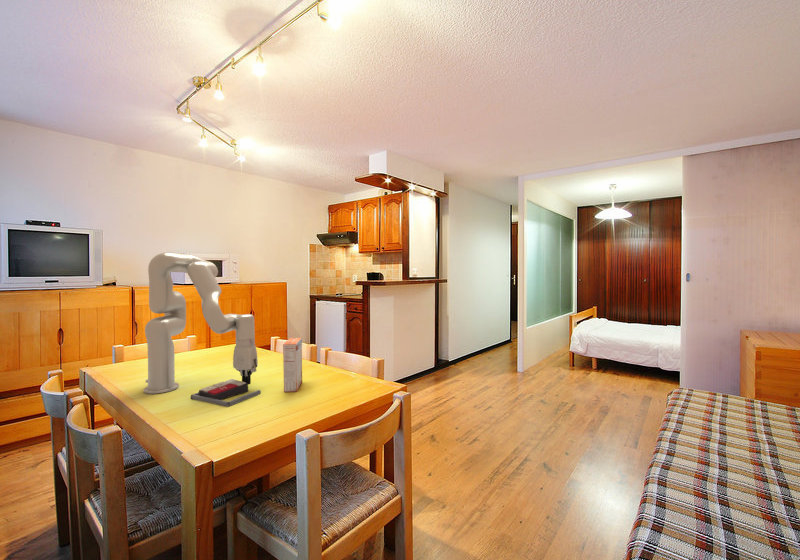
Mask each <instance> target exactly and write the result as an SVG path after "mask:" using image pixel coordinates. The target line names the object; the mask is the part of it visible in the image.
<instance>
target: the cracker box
mask: <svg viewBox="0 0 800 560" xmlns="http://www.w3.org/2000/svg"><path fill="white" fill-rule="evenodd" d="M302 341H303V339H302V337H290V338H288V339H287V340H286V341H285V342H284V343H283V344H282V350H283V354H282V355H283V357H282V358H283V367H282V368H283V392H284V393H294V392H298V390H299V389H300V387H301V384H302V383H303V342H302Z"/></svg>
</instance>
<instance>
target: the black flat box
mask: <svg viewBox="0 0 800 560" xmlns="http://www.w3.org/2000/svg"><path fill="white" fill-rule="evenodd" d="M248 391H249V385H248V383H246V382H242V380H237V379H235V378H231V379H227V380H225V381H221V382H218V383H214V384H212V385H209V386H206V387H203V388H200V390H198V392H199V396H204V397H208V398H213V399H218V400H223V401H224V400H225V399H227V398H232V397H233V396H237V395H238V394H239V395H242V394H244V393H248Z"/></svg>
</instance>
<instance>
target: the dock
mask: <svg viewBox="0 0 800 560" xmlns="http://www.w3.org/2000/svg"><path fill="white" fill-rule="evenodd" d="M261 392H262V391H261V389H257V390H255V391H252V392H250V393H248V394H245V395H242V396H239V397H237V398H235V399H232V400H229V401H226V400H224V399H223V400H218V399H213V398H208V397H204V396H199V391H198V392H195V393H193V394H191V395H190V399H191V400H194V401H200V402H202V403H203V402H204V403H207V404H208V403H209V404H213V405H217V406H223V407H226V408H228V407H232V406H234V405H236V404H238V403H241V402H244V401H246V400H248V399H251V398H254V397H256V396H258V394H259V395H260V394H261ZM253 396H254V397H253Z"/></svg>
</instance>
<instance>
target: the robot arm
mask: <svg viewBox="0 0 800 560" xmlns="http://www.w3.org/2000/svg"><path fill="white" fill-rule="evenodd" d="M147 273H148V307H149V309H150V311H151V312H152V313H154V314H157V315H158V314H159V315H161V314H164V315H163V316H158V317H154V318H151V319H150V320H149V321H148V322H147V323H146V324H145V327H144V333H145V339H146V345H147V379H146V380H145V384H147V386H146V387H144V388H143V394H144V393H145V394H149V395H150V394H151V395H155V394H163V393H168V392H172V391H174V390H176V389H178V388H179V387H180V383H178V382H176V381H175V373H176V372H175V345H174V341H173V339H172V337H174V336H177V335H180V334H181V333H182V332H184V331H185V329H186V324H187V302H186V301H187V300H186V298H185V296H184V295H183V294H182V293H181V292H180V291H176V290H174V288H173V287H174V286H173V285H174V282H173V278H172V276H171V273H185V274H187V275H188V277H189V279H190V280H191V282H192V284H193V286H194V287H195V290H196V291H197V293H198V295H199V297H200V299H201V310H202V311H201V312H202V314H203V318H204V320H205V321H206V323H207V325H208V327H209V328H210V329H211V331H213V333H215V334H225V333H228V332H231V331H235V345H234V350H233V355H232V356H233V357H232V360H233V361H232V366H233V369H235V370H236V371H238V372H239V374H240V376H241V381H242V382H246V383H248V386H249V385H251V384H252V383H251V381H252V378H251V376H252V374H253V373H256V372H257V367H258V351H257V346H256V344H255V343H256V341H255V340H256V338H255V335H256V334H255V333H256V331H255V315H253V314H250V313H245V314H244V313H243V314H242V313H241V314H238V313H237V314H236V313H226V314H224V313H223V311H222V309H221V307H220V305H219V298H220V297H221V296H220V295H221V294H222V287H220V285H219V283H218V281H217V279H216V277H217V276H218V274H219V270H218V267H217V266H216V264H214V263H213V262H212V261H209V260H205V259H203V258H200V257H197V256H194V255H191V254H187V253H181V252H180V253H179V252H173V251H170V252H169V251H168V252H167V251H166V252H161V253H158V254H157V255H155V256H153V257H152V258H151V259H150V261H149V263H148V267H147Z"/></svg>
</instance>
